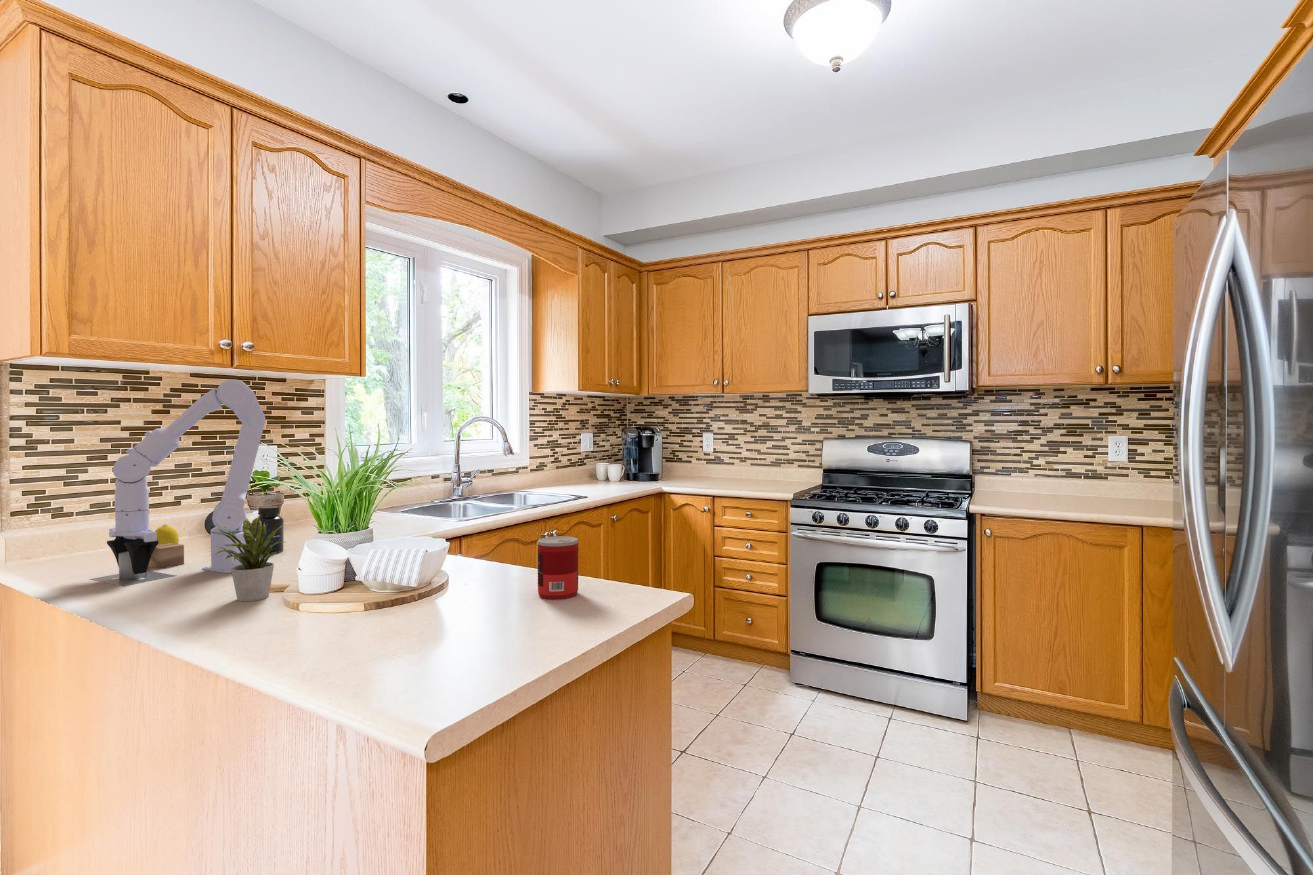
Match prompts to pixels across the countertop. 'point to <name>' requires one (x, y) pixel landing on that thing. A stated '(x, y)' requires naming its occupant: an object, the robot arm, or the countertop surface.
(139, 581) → the letter card
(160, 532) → the lemon
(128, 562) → the grey jar
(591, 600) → the countertop surface
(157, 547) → the walnut cube
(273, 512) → the supplement bottle
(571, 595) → the canned food
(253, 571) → the house plant
